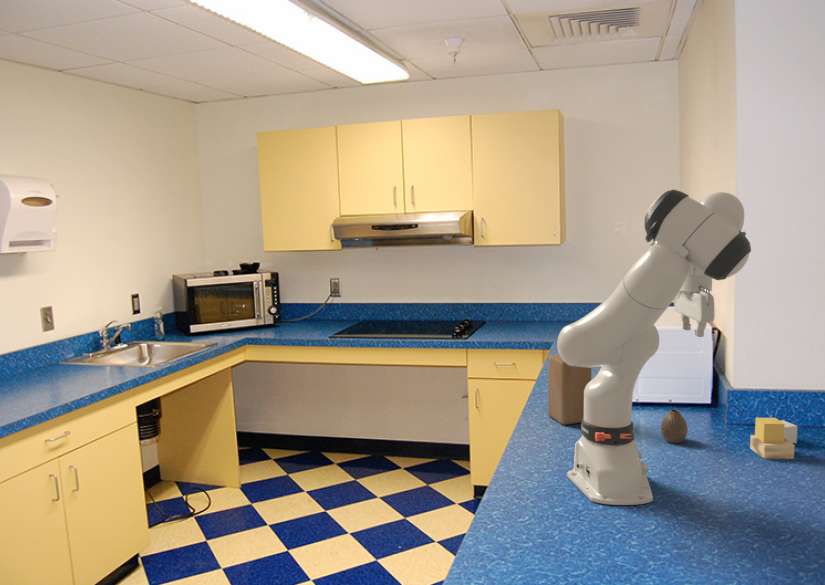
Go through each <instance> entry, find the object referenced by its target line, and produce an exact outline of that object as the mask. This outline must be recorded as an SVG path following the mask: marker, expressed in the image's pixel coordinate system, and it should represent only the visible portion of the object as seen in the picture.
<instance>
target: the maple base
mask: <svg viewBox="0 0 825 585" xmlns="http://www.w3.org/2000/svg"><path fill="white" fill-rule="evenodd" d="M749 440H750V441H749V442H750V444H749V448H750V449H751V451H753V452H755V453H756V454H757V455H758V456H760V458H762V459H763V458H764V459H763V460H791V459H793V460H795V447H796V445H795V444H792V443H791V442H789V441H788V440H786V439H785V438H784V443H763V442H762V441H761V440H760V439H758V438H757V437H756V436H755V434H750V439H749Z"/></svg>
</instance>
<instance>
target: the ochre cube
mask: <svg viewBox="0 0 825 585" xmlns="http://www.w3.org/2000/svg"><path fill="white" fill-rule="evenodd" d="M754 424H755V425H754V426H755V427H754V435H755V436H756V437H757V438H758V439H760V440H761V441H762V442H763V443H784V425H785V424H784V423H782V422H781V420H779V419H778V418H776V417H755V423H754Z"/></svg>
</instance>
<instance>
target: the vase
mask: <svg viewBox="0 0 825 585" xmlns="http://www.w3.org/2000/svg"><path fill="white" fill-rule="evenodd" d="M688 428H689V427H688V423H687V420H686V419H685V418H684V416H683V415H682V413H681V411H680V410H679V409H673V408H672V409H669V411H668V413H667V414H665V416H664V417H663V419H662V421H661V424H660V431H661V435H662V437H663V439H664V440H665V441H666V442H669V443H670V444H681V443H683V442H684V440H686V438H687V435H688V431H689V430H688Z"/></svg>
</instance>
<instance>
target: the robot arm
mask: <svg viewBox="0 0 825 585" xmlns="http://www.w3.org/2000/svg"><path fill="white" fill-rule="evenodd" d="M744 223H745V208H744V205H743V203H742V201H740V199H739V198H738V197H737V196H735V195H733V194H732V193H729V192H723V191H720V192H713V193H711V194H708V195H707V196H705V197H703V198H702V200H699V201H697V200H695V199H694V198H691V197H689V194H687V193H685V192H684V191H683V192H682V191H681V190H677V189H670V190H667V191H665V192H664V193H662V194H661V195H659V196H657V197H656V198H655V199H654V200H653V201H652V202H651V204H650V205H649V207H648V209H647V212H646V215H645V216H644V231H645V233H646V235H645V241H646V243H650V242H651V241H653V242H652V243H651V244H650V245H649V248H648V249H647V251H645V252H644V253H643V254H642V255H641V256H640V257H639V258H638V259H637V260H636V262H634V263H633V265H632V266H631V267H630V268H629V270H628V271H627V272H626V274H625V275H624V276H623V278H622V279H621V281H620V282H619V283H618V284H617V287H616V288H615V289H614V290H613V291H612V293H611V295H609V297H608V298H606V300H604V301H602V303H601V304H599V305H598V306H597V307H595V308H594V309H593V310H591V311H590V312H589V313H587V314H586V315H585V316H583V317H581V318H580V319H578V320H576V321H574V322H572V323H570V324H567V325H565V326H564V327H562V328H561V330H560V332H559V333H558V337H557V341H556V343H557V344H556V346H557V351H558V354H560V356H561V358H562V359H563V361H564V362H565V363H566V364H568V365H570V366H576V367H586V368H591V369H592V368H597V367H600V369H599V371H598V372H597V374H596V375H595V376H594V377H593V378H591V381H590V382H589V383H588V384H587V385H586V387H585V390H584V417H583V418H582V423H580V424H581V425H580V428H581V429H580V430H581V431H580V432H581V434H582V435H581V436H580V438H579V439H578V440H577V441H576V442H575V444H574V445H575V446H574V460H573V469H571V470H568V471H567V475H566V476H567V478H568V479H569V480H570V481H571V482H572V483H573V484H574V485H575V486H576V487H577V488H578V489H579V490H580V491H581V492H582V493H583V495H585V496H586V498H588V499H589V500H590V501H591V502H593V503H598V504H603V505H613V506H629V505H630V506H634V505H644V504H648V503H651V502H653V501H654V496H653V492H652V490H651V489H652V488H651V486H650V483H649V480H648V476H647V474H648V473H649V472H648V471H649V469H648V468H649V466H648V462H643V461H642V462H641V459H642V458H643V452H642V451H638V443H637V441H636V440H635V428H634V423H633V420H632V415H633V414H632V409H633V398H634V397H633V396H634V389H635V386H636V382H637V380H638V377H639V375H640V373H641V371H642V370H643V368H644V366H645V364H646V363H647V362H648V361H649V360H650V358H652V357H653V356H654V355H656V353H657V351H658V350H659V345H660V334H659V331H658V329H657V327H656V325H655V324H656V323H657V321H658V320H659V319H660V318H661V316H662V315H663V314H664V313H665V311H666V310H668V307H669V306H670V305H671V304H672V303H673V307H674V310H675V312H676V313H679V314H680V318H681V322H682V330H684V331H690V330H691V328H692V327H691V326H692V324H691V322H690V319H692V320H694V321H696V325H697V326H696V329H695V333H694V335H695V336H696V337H698V338H702V337H704V336H705V330H706V327H707V323H713V322H715V298H714V296H713V295H712V294H711V292H712V290H713V289H712V288H713V280H716V281H723V280H726V279H727V278H729V277H731V276H734V275H736V274H737V273H738V272H740V271H741V270H742V269H743V268H744V266H745V265H746V264H747V262H748V260H749V256H750V253H751V252H752V248H751V243H750V240H749V239H748V238H747V236H746V235H747V233H746V232H745V231H743V227H744Z"/></svg>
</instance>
